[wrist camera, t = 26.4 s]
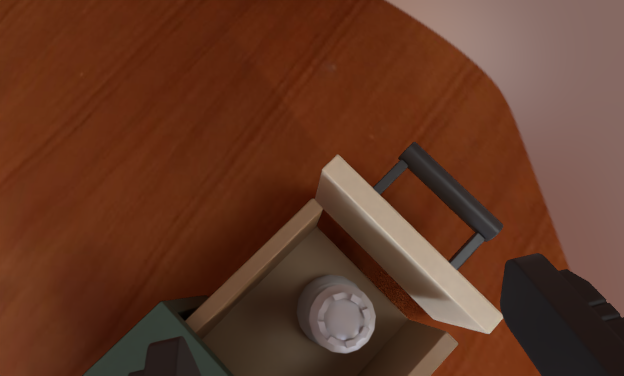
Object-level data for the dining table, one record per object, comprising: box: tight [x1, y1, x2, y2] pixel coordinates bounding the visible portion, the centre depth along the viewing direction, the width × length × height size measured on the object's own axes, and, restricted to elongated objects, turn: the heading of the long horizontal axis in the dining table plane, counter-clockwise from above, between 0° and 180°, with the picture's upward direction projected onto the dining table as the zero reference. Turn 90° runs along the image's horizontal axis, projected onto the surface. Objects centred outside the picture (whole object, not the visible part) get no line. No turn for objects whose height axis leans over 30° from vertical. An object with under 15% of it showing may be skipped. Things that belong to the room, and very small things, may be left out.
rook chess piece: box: [297, 275, 376, 353], centre depth 25 cm, size 4×4×8 cm
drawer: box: [185, 142, 503, 376], centre depth 26 cm, size 18×11×9 cm, turn 135°
